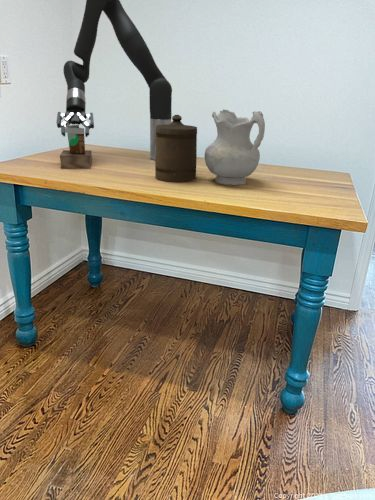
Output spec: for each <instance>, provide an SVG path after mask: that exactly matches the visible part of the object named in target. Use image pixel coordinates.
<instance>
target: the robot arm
mask: <svg viewBox="0 0 375 500" xmlns="http://www.w3.org/2000/svg"><path fill="white" fill-rule="evenodd" d="M102 13H104V14H105V16H106V17H107V19H108V20H109V22H110V23H111V26H112V28H113V31H114V34H115V36H116V39H117V42H118V43H119V45H120V47H121V48H122V49H123V52H124V53H125V55H126V56H127V58H128V59H129V61H130V62H131V63H132V64H133V66H134V67H135V68H136V69H137V71H138V72H139V73H140V74H141V75H142V77H143V79H144V81H145V82H146V84H147V86H148V89H149V91H148V92H149V130H150V131H149V132H150V133H149V142H150V143H149V145H150V146H149V148H150V149H149V151H150V152H149V158H150V160H154V161H155V149H156V126H157V125H167V124H170V123H171V122H172V116H173V115H172V114H173V113H172V95H173V88H172V84H171V83H170V82H169V80H167V78H166V77H165V76H164V74H163V73H162V71H161V70H160V68H159V67H158V66H157V63H156V61H155V60H154V58H153V55H152V53H151V50H150V49H149V46H148V45H147V43H146V41H145V39H144V38H143V35H142V34H141V33H140V31H139V29H138V28H137V26H136V25H135V23H134V22H133V20H132V19H131V18H130V17H129V15H128V14H127V12H126V11H125V8H124V7H123V5H122V2H121V0H86V1H85V7H84V13H83V17H82V21H81V25H80V29H79V33H78V35H77V39H76V42H75V45H74V48H73V54H74V55H75V56H76V57H77V58H79V59H81V61H82V64H81V63H78V62H76V61H73V60H67V61H66V62H65V63H64V65H63V75H64V79H65V82H66V85H67V91H66V99H65V100H66V101H65V102H66V104H65V106H66V107H65V113H61V111H58V112H57V113H56V121H55V122H56V126H57V128H58V129H59V128H60V133H61V135H62V137H66V132H65V131H66V128H67V126H70V125H79V126H80V125H81V126H82V127H83V128H84V133H85V134H84V137H85V138H88V137H89V136H90V130H91V129H94V128H95V122H94V120H95V119H94V113H93V112H90V113H86V105H87V101H86V85H85V83H86V82H88V80H89V78H90V71H91V70H90V69H91V68H90V66H91V59H92V58H91V57H92V54H93V52H94V48H95V44H96V42H97V36H98V26H99V23H100V18H101V15H102ZM63 119H64V120H63ZM87 119H88V120H89V121H90V123H89V122H88V121H87ZM62 120H63V121H62Z"/></svg>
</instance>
